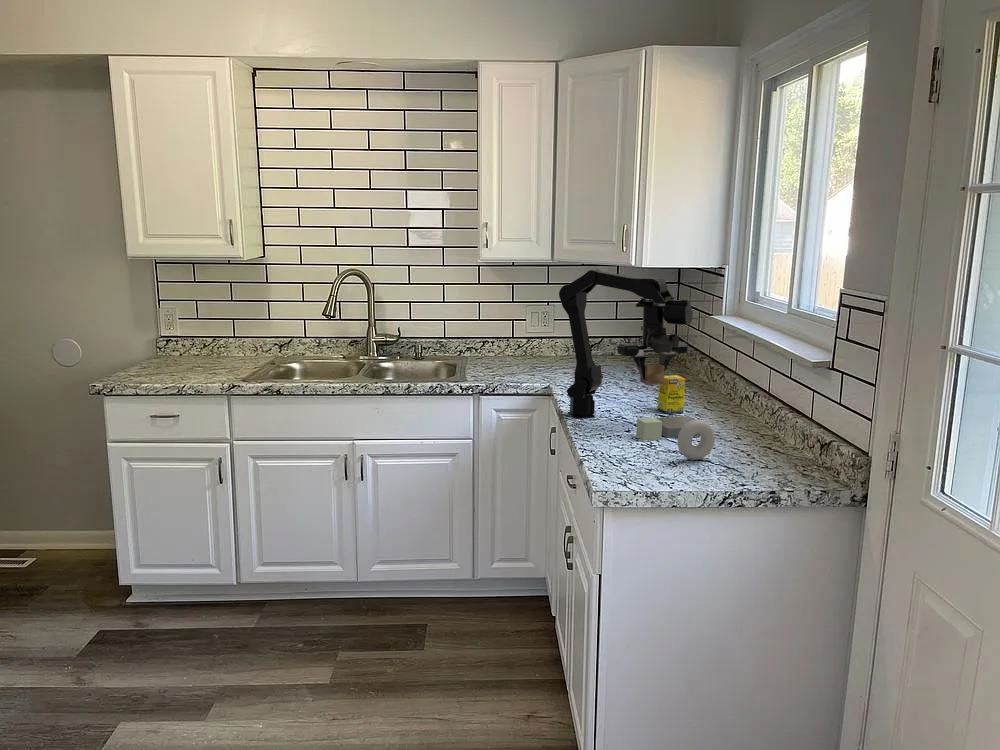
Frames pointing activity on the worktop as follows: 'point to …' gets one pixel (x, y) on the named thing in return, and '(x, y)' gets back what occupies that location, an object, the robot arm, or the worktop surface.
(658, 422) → the sage block
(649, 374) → the walnut block
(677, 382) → the supplement box
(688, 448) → the donut
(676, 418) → the block
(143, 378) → the worktop surface
